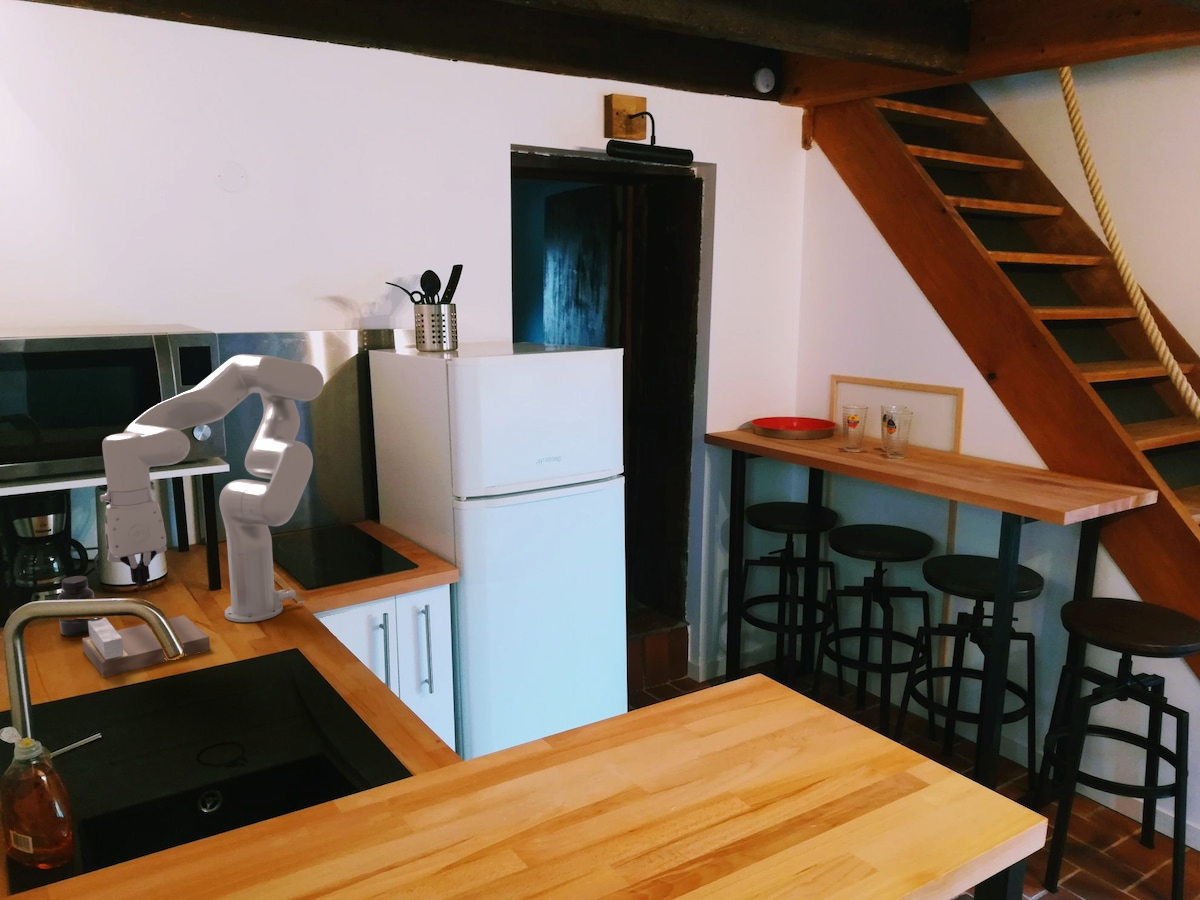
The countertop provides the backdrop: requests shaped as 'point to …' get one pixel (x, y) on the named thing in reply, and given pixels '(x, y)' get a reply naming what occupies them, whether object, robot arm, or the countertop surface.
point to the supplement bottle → (75, 590)
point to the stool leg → (105, 638)
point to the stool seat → (145, 647)
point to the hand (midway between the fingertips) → (141, 584)
